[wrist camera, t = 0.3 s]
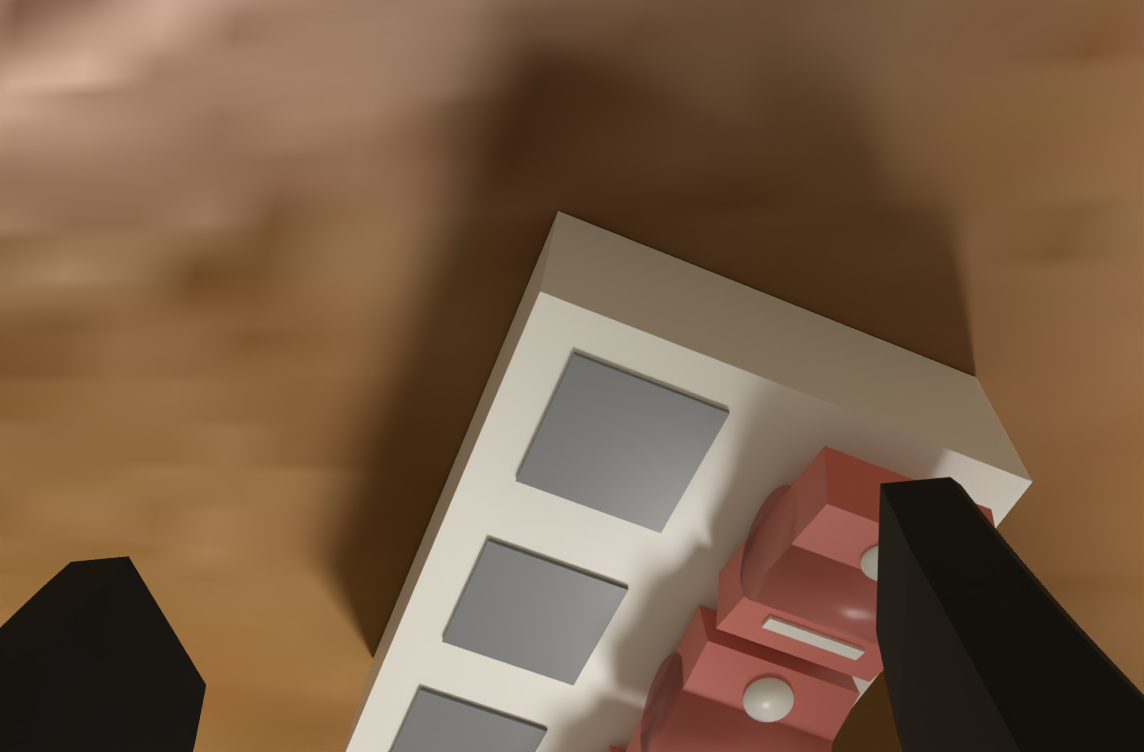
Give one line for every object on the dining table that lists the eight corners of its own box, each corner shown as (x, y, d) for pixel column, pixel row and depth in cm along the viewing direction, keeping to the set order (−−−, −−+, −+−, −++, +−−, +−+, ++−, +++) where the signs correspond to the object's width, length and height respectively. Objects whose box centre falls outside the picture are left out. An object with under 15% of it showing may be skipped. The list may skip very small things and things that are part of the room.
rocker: (864, 606, 19) (870, 702, 18) (720, 554, 19) (714, 648, 17) (988, 490, 17) (1007, 590, 15) (824, 428, 16) (828, 524, 15)
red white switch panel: (699, 767, 27) (704, 896, 24) (372, 660, 26) (333, 781, 22) (976, 378, 20) (1034, 485, 17) (558, 210, 19) (539, 294, 16)
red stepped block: (754, 792, 21) (773, 868, 19) (619, 748, 20) (625, 821, 19) (836, 643, 20) (866, 707, 18) (695, 593, 19) (711, 654, 17)
